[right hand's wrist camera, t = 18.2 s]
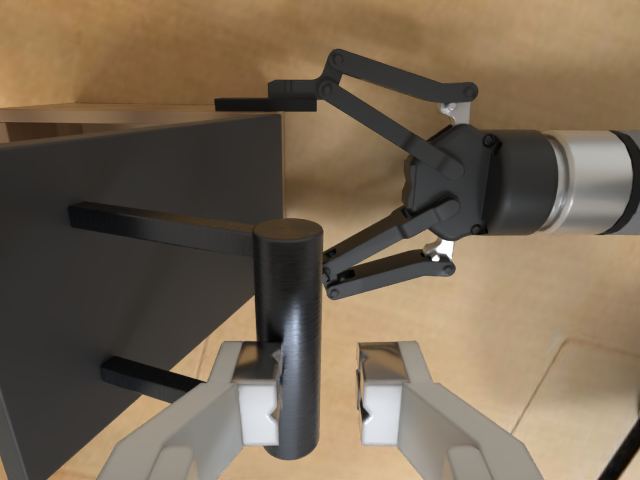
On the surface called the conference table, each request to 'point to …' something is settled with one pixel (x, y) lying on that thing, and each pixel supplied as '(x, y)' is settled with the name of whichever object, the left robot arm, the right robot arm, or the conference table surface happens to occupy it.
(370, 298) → the conference table surface
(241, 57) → the conference table surface
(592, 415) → the conference table surface
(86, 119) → the chest
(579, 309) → the conference table surface
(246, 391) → the right robot arm
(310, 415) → the lid
